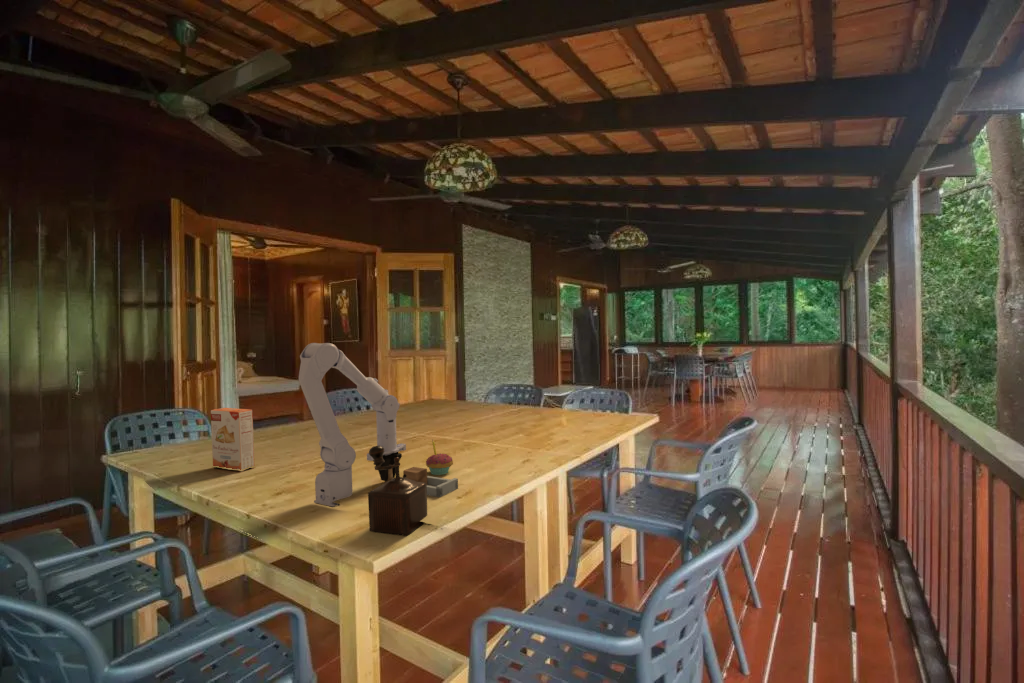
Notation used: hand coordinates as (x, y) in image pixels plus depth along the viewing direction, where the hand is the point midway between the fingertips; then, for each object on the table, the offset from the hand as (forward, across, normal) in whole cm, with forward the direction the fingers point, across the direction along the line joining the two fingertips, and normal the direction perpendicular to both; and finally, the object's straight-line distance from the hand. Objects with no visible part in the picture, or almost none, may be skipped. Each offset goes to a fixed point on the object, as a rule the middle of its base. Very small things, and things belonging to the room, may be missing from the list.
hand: (387, 478), depth 150 cm
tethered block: (+1, 0, -6) cm, 6 cm away
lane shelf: (+2, 0, -14) cm, 14 cm away
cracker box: (+2, -9, +64) cm, 65 cm away
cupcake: (+2, +15, -8) cm, 17 cm away
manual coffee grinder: (+2, -22, -22) cm, 31 cm away
